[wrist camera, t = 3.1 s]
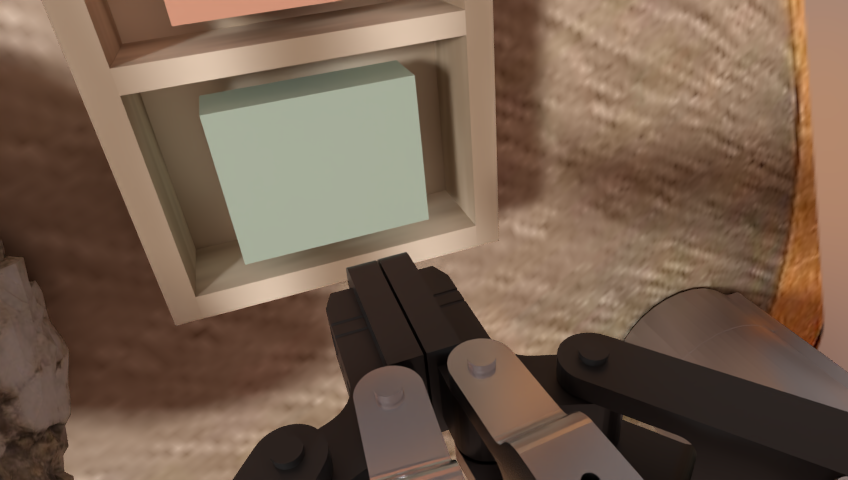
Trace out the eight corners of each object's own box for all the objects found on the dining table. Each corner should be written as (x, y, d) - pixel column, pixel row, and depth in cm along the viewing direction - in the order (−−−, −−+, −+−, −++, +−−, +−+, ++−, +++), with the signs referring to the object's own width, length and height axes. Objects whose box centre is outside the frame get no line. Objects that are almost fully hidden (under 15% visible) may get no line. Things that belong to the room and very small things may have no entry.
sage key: (396, 60, 21) (414, 75, 20) (412, 195, 24) (428, 219, 23) (199, 95, 20) (199, 115, 18) (241, 235, 23) (245, 264, 21)
